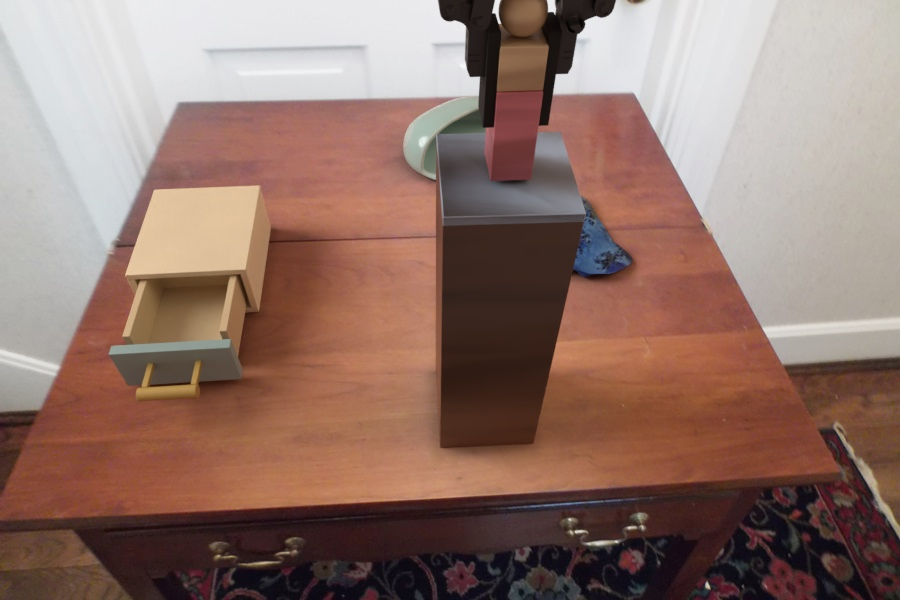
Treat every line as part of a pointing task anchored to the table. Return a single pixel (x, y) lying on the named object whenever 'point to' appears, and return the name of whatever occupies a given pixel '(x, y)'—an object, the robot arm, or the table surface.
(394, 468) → the table surface
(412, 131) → the planter
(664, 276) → the table surface
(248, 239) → the cabinet
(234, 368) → the drawer
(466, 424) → the stand
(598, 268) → the rock
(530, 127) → the doll
